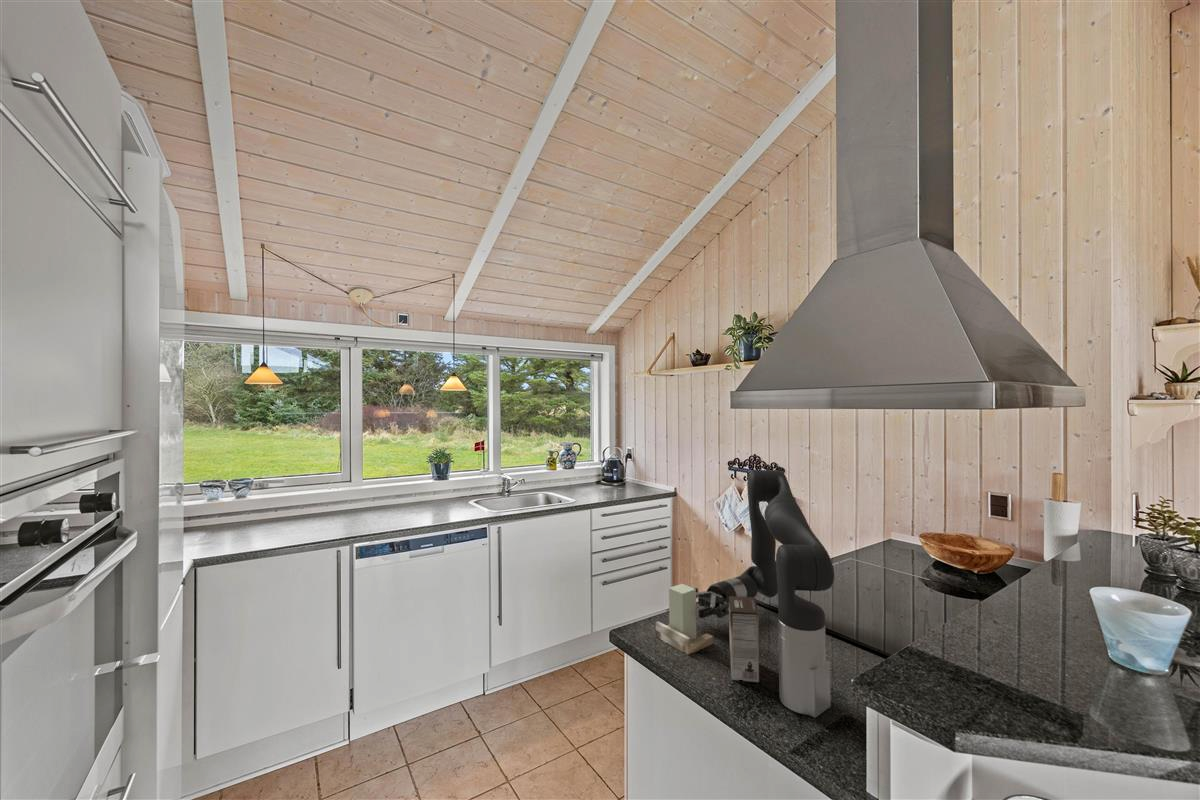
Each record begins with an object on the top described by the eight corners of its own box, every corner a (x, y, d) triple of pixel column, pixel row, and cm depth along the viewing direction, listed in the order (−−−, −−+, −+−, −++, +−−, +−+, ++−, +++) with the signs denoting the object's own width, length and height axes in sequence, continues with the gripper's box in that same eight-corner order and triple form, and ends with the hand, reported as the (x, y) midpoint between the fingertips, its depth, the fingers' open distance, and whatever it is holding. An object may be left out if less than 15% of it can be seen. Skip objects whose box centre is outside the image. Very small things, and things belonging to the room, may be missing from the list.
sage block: (696, 641, 131) (695, 589, 131) (683, 647, 128) (682, 593, 128) (682, 634, 135) (682, 583, 135) (669, 640, 132) (668, 588, 132)
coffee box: (729, 659, 122) (728, 594, 122) (756, 661, 120) (755, 596, 120) (731, 680, 113) (730, 610, 113) (760, 683, 111) (759, 612, 111)
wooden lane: (712, 643, 129) (712, 628, 129) (688, 655, 124) (688, 639, 124) (680, 627, 139) (679, 612, 139) (655, 636, 134) (655, 622, 134)
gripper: (708, 574, 148) (669, 587, 138) (747, 588, 136) (707, 603, 127) (708, 599, 148) (669, 613, 138) (747, 615, 136) (708, 632, 127)
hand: (687, 609), depth 132 cm, fingers open, 8 cm apart
